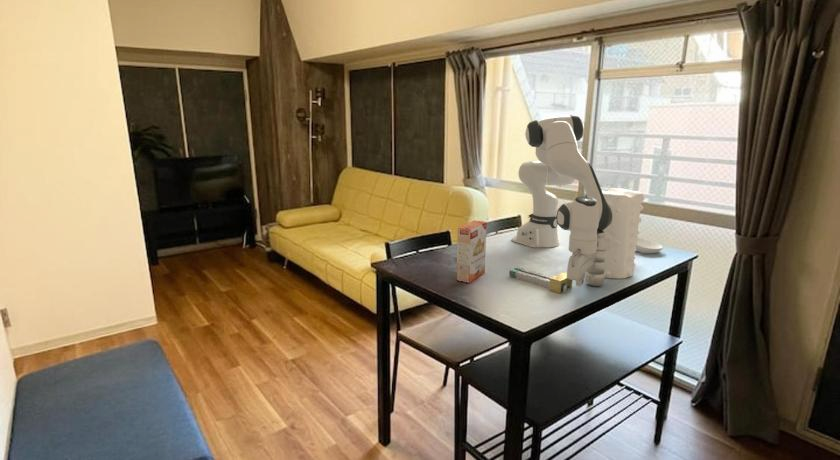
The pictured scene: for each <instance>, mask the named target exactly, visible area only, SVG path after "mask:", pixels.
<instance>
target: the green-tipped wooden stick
mask: <svg viewBox="0 0 840 460" xmlns="http://www.w3.org/2000/svg"><path fill="white" fill-rule="evenodd" d="M508 276H509V278H513V279H517V280H520V281H524V282H527V283H529V284H534V285H535V286H540V287H544V288H546V289H548V290H550V280H549V279H546V278H542V277H539V276H535V275H532V274H528V273H525V272H521V271H519V270H515V269H514V268H511V269H510V270H509V275H508ZM567 289H568V287H567V284H565V283H562V284H561V293H562V294H564V293H566V292H567Z"/></svg>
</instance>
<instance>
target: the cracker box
mask: <svg viewBox="0 0 840 460" xmlns="http://www.w3.org/2000/svg"><path fill="white" fill-rule="evenodd" d="M487 223H488V222H487V221H484V220H471V221H469V222H468V223H465V224H462V225H461V226H458V227H457V239H456V241H457V243H456V244H457V245H456V246H457V247H456V254H457V255H456V281H457V280H458V281H457V282H461V281H463V282H462V283H466V282H467V283H466V284H470V283H472V282H474V281H475V280H476V279H478V278H480V277H481V276H482V275H483V274H486V253H487V252H486V248H487V247H486V246H487V245H486V244H487ZM480 275H481V276H480Z"/></svg>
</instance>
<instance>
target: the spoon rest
mask: <svg viewBox="0 0 840 460" xmlns="http://www.w3.org/2000/svg"><path fill="white" fill-rule="evenodd" d="M637 239H638V241H637V242H636V249H637V250H636V251H638V253H642V254H645V255H653V254H657V253H659V252H660V251H662V250H663V248H664V246H663V245H662V244H660V243H657V242H655V241H653V240H649V239H646V238H643V237H641V236H638V235H637Z"/></svg>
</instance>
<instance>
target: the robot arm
mask: <svg viewBox="0 0 840 460" xmlns="http://www.w3.org/2000/svg"><path fill="white" fill-rule="evenodd" d="M584 132H585V125H584V122H583V119H582V117H581V116H579V115H578V114H577V115H576V114H569V115H559V116H557V115H556V116H547V117H544V118H541V119H538V120H537V119H535V120H532V121H530V122H528V124H527V126H526V130H525V132H524V134H525V135H524V136H525V139H526V141H527V144H528V145H529V146H530V147H532V148H535V156H536V158H537V160H531V161H526V162H523V163H522V164H521V165H520V166H519V168H518V173H517V174H518V178H519V180H520V181H521V183H522V184H524V185H525V186H526V187H527V189H529V191H530V194H531V196H532V205H533V207H532V213H531V214H527V216H528V217H527V219H529V220H528V221H527V222H526V223H525V222H524V224H522V225H521V226H519V227H518V229H517V232H516V235H515V236H513V237H511V241H512V242H515V243H518V244H521V245H525V246H527V247H530V248H533V249H534V248H555V247H557V246H559V245H560V242H559V237H558V227H560V228H561V230H564V231H570V232H569V233H570V234H569V239H568V240H569V241H568V251H569V252H570V253H572V254H571V255H570V257H569V258H568V262H567V270H566V273H567V278H568V279H569V280H573V281H575V285H576V286H577V287H582V285H583V284H584V282H585V276H586V272H587V271H588V270H589V268H590V267H591V266H592V265H593V264H594V260H595V255H596V250H597V247H598V245H599V241H598V240H597V238H598V237H597V231H603V230H604V229H606V228H607V227H608V226H609V225H610V223H611V221H612V211H611V209H610V207H609V205H608V203H607V202H606V200H605V198H604V195H603V193H602V190H603V189H602V188H601V185H600V183H599V179H598V178H597V175H596V173H595V170H594V168H593V166H592V164H591V162H589V161H588V160H586V159H585V158H584V157H583V155H582V153H580V151H579V147H578V146H579V145H578V143H577V142H578V141H581V139H582V138H583V136H584ZM575 181H578V182H579V183H580V184H582V187H583V188H584V191H585V194H586V196H578V197H576V198H574V199H573V200H572V201H571V202H567V203H562V204H561V205H560V206H559V199H558V196H556V195H555V194H554V193H553V192H550V191H548V190H547V189H546V187H545V186H559V187H560V186H567V185H568V186H569V185H572V184H573V183H574V182H575Z"/></svg>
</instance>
